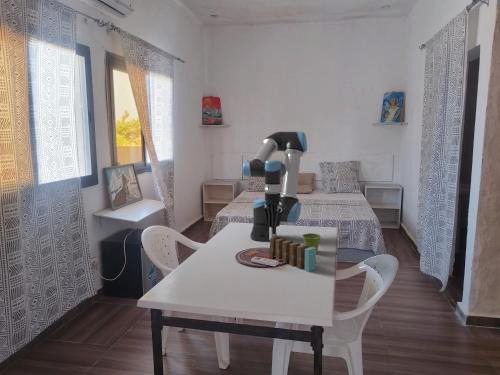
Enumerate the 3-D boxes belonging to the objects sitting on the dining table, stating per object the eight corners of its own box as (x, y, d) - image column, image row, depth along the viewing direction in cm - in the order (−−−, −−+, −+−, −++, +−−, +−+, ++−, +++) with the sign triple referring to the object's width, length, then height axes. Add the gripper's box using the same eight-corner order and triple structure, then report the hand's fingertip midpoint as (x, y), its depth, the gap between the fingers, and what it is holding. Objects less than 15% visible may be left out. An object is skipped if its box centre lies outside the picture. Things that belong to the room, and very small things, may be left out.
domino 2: (275, 259, 181) (275, 239, 179) (282, 257, 184) (283, 237, 183) (278, 261, 179) (278, 240, 178) (286, 258, 182) (286, 238, 181)
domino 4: (289, 265, 174) (289, 244, 172) (296, 262, 177) (297, 242, 176) (293, 266, 172) (293, 245, 171) (300, 263, 176) (300, 243, 174)
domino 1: (269, 257, 184) (270, 237, 182) (276, 254, 187) (277, 235, 185) (272, 258, 183) (273, 239, 180) (279, 256, 186) (280, 237, 184)
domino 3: (282, 262, 177) (282, 242, 176) (289, 259, 181) (289, 239, 179) (285, 263, 176) (285, 243, 174) (293, 261, 179) (293, 240, 177)
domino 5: (296, 267, 170) (297, 246, 169) (304, 265, 174) (304, 244, 172) (300, 269, 169) (300, 247, 167) (307, 266, 172) (308, 245, 170)
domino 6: (304, 270, 167) (304, 249, 165) (311, 267, 170) (312, 246, 169) (308, 272, 165) (308, 250, 164) (315, 269, 169) (316, 247, 167)
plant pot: (319, 256, 186) (319, 239, 184) (300, 254, 189) (300, 237, 187) (321, 250, 194) (322, 234, 193) (303, 248, 198) (304, 232, 196)
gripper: (257, 191, 184) (257, 238, 187) (276, 195, 174) (276, 244, 177) (269, 190, 188) (268, 235, 192) (287, 193, 178) (287, 241, 182)
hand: (272, 239), depth 185 cm, fingers closed
